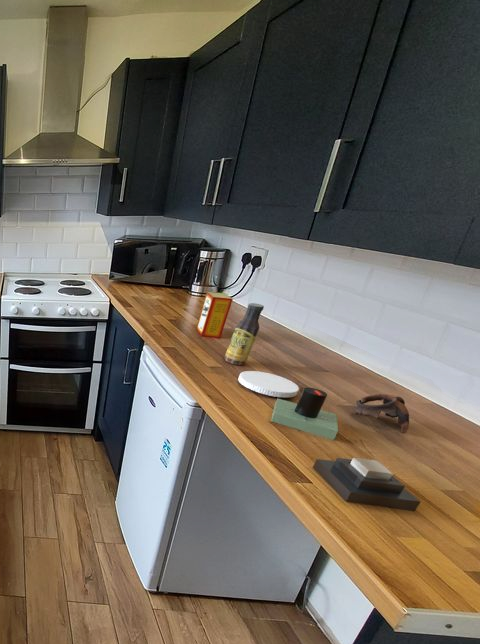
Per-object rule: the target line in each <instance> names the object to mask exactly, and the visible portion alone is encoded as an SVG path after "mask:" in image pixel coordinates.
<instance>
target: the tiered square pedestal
mask: <svg viewBox="0 0 480 644" xmlns="http://www.w3.org/2000/svg"><path fill="white" fill-rule="evenodd" d="M351 461H352V458H351V459H350V458H344V457H343V458H342V457H336V459H335V460H327V459H321V458H316V460H315V462H314V464H313V465H312V469H313V470H314V471H315V472H316V473H317V475H319V476H320V477H321V478H322V479H323V480H324V481H325V482H326V483H327V484H328V485H329V486H330V487H331V488H332V489H333V490H334V491H335V492H336V494H338V496H339V497H341V499H342V500H343V501H344V502H346V503H353V504H359V505H360V504H361V505H366V506H375V507H381V508H389V509H396V510H403V511H409V512H415V511H416V510H417V508H418V507H419V506H420V504H421V501H420V500H419V499H418V497H416V496H415V495H413V494H412V493H411V492H410V491H408V490H407V489H406V485H405V484H403V483H402V482H401V481H399V480H398V479H397V478H396V477H394V475H392V477H391V478H390V480H381V479H374V478H366V477H364V476H363V475H361V474H360V473H359V472H358V471H357V470H356V469H355V468H354V467H352V466H351V465H350V463H351Z"/></svg>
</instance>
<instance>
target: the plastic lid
mask: <svg viewBox="0 0 480 644" xmlns="http://www.w3.org/2000/svg"><path fill="white" fill-rule="evenodd" d="M238 382H239V383H240V384H241V386H243V387H244V388H247V389H249V390H251V391H253V392H256V393H259V394H261V395H266V396H270V397H275V398H276V397H277V398H284V399H285V398H294V397H296V396H297V395H298V393H299V391H300V387H299V385H297V384H296V383H295V382H294V381H291V380H290V379H288V378H285V377H283V376H279V375H277V374H274V373H269V372H264V371H260V370H259V371H258V370H245V371H241V372H240V373H239V376H238Z"/></svg>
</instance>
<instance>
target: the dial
mask: <svg viewBox="0 0 480 644" xmlns="http://www.w3.org/2000/svg"><path fill="white" fill-rule="evenodd" d="M327 397H328V393H327V392H325V391H324V390H321V389H319V388H316V387H307V386H306V387H304V388H303V390H302V392H301V395H300V396H299V399H298V401H297V403H296V404H297V406H296V408H295V412H296V413H298V414H300V415H302V416H305V417H309V418H316V417H317V416H318V414H319V412H320V410H322V407H323V405H324V403H325V401H326V398H327Z"/></svg>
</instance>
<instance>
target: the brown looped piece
mask: <svg viewBox="0 0 480 644" xmlns="http://www.w3.org/2000/svg"><path fill="white" fill-rule="evenodd" d="M375 401H382V404H373V405H372V404H371V405H369V404H368V403H370V402H375ZM405 404H406V401H405V400H404V399H403V397H401V396H395V395H393V394H389V393H388V394H387V393H377V394H370V395H365V396H363V397H361V398H360V399H358V400H356V406H355V408H354V410H353V411H354V413H355V414H356V415H363V416H372V417H374V418H375V419H379V416H380V414H381V413H382V412H383V414H384V416H387V417H390V418H392V419H395V418H397V422H396V424H397V425H400V428H401V429H400V433H401V434H405V433H406V432H408V430H409V425H410V412H409V410H408V408H407V406H406V405H405Z"/></svg>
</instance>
